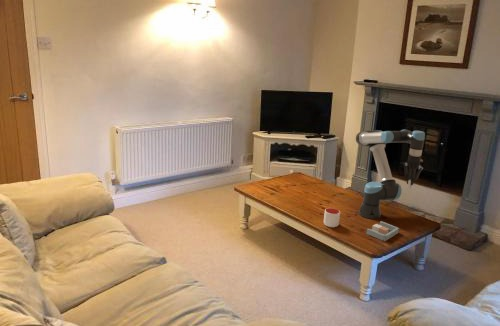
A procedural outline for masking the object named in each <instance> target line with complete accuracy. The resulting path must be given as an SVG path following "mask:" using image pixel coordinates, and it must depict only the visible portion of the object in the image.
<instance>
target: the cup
mask: <svg viewBox="0 0 500 326" xmlns="http://www.w3.org/2000/svg"><path fill="white" fill-rule="evenodd" d="M340 217H341V211H340V210H339V209H338V208H335V207H328V208H325V210H324V216H323V224H324V225H325V226H326V227H329V228H337V227H338V226H339V224H340Z"/></svg>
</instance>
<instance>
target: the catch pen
mask: <svg viewBox="0 0 500 326" xmlns="http://www.w3.org/2000/svg"><path fill="white" fill-rule="evenodd" d="M379 225H381V226H384V227H386V228H389V231H388V233H387V234H386V235H383V234H381V233H378V232H376V231H373V230H372V228H367V229H366V231H365V232H366V235H368V236H371V237H373V238H376V239H378V240H380V241H382V242H387V241H388V240H389V239H391V238H392V237H395V236H396V235H397V234H399V230H400V227H398V226H394V225H392V224H389V223H387V222H384V221H379Z"/></svg>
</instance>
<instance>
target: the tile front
mask: <svg viewBox="0 0 500 326" xmlns="http://www.w3.org/2000/svg"><path fill="white" fill-rule="evenodd" d="M389 232H390V230H389V228H386V227H384V226H382V227H380V228H379V231H378V233H381V234H383V235H386V234H387V233H389Z"/></svg>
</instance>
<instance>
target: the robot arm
mask: <svg viewBox="0 0 500 326" xmlns="http://www.w3.org/2000/svg"><path fill="white" fill-rule="evenodd" d="M425 137H426V132H424V131H421V130H413V131H411V130H408V129H401V130H385V131H382V130H378V129H375V130H361V131H359V132H358V133H357V134H356V135H355V142H356V143H357V144H358V145H359V146H361V147H368V148H369V151H370V152H372V155H373V158H374V162H375V167H376V170H377V174H378V177H379V181H370V182H367V183H366V184H364V189H363V190H364V191H363V199H362V203H361V205H360V207H359V210H358V214H359V216H361V217H363V218H365V219H371V220H372V219H373V220H375V219H380V218H381V215H382V213H381V212H382V211H381V207H380V204H381V202H382V201H396V200H398V199H400V198H401V195H402V190H403V189H402V186H401V184H400V183H398V182H396V181H397V180H396V179H395V178H393V175H392V172H391V168H390V165H389V161H388V158H387V154H386V151H385V149H386V145H387V144H391V143H398V144H399V143H407V144H409V146H410V147H409V150H408V151H409V152H408V157H407V161H406V162H404V163H402V165H403V170H404V171H403V172H404V179H407V180H406V185H407V187H406V189H407V191H408V190H409V191H410V190H412V186H413V185H414V182H415V181H417V180H418V179H419V178H420V177H419V176H420V174H421V172H422V171H423V169H424V167H423V166H422V165H421V160H422V153H423V148H424V144H425V143H424V142H425V139H426V138H425ZM417 169H418V170H417Z"/></svg>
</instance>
